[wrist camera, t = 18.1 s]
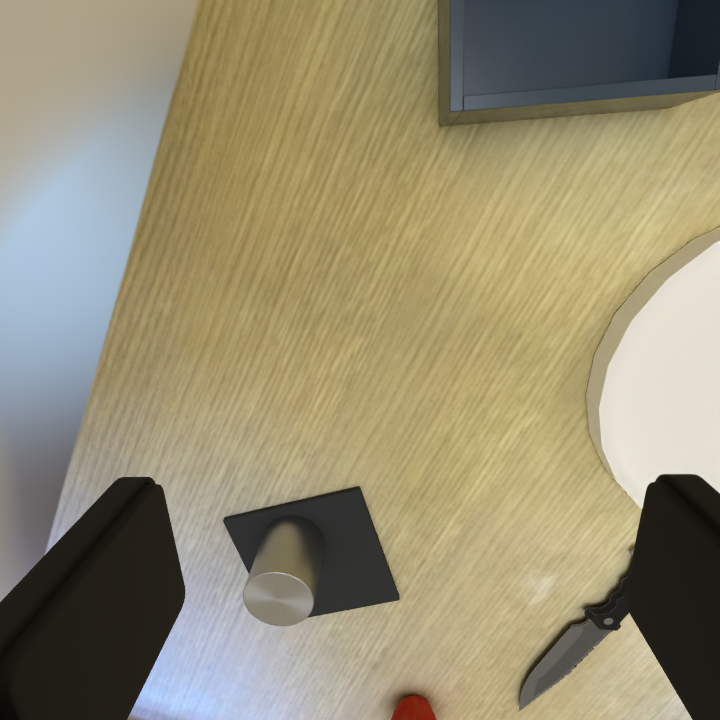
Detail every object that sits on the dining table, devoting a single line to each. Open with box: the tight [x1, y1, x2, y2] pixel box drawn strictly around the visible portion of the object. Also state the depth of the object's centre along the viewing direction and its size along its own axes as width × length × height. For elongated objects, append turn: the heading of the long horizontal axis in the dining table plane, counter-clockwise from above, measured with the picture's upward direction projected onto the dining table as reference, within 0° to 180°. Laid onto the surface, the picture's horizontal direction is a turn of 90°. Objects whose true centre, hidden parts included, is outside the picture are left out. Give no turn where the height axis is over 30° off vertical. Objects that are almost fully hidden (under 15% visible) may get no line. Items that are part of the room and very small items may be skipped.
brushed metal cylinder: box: [243, 516, 324, 626], centre depth 41 cm, size 6×6×7 cm
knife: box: [519, 548, 634, 711], centre depth 46 cm, size 26×1×5 cm
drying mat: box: [223, 487, 399, 618], centre depth 45 cm, size 14×14×1 cm
